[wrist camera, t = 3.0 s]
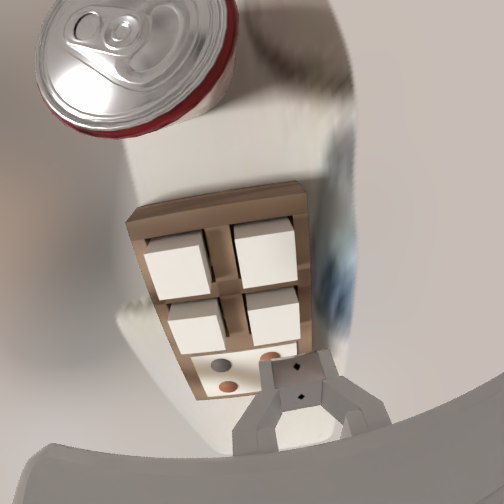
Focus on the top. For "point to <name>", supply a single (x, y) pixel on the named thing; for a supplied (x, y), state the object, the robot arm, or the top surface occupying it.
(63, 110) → the soda can
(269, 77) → the top surface
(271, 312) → the button
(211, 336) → the button
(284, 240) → the button
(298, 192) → the button board
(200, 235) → the button
